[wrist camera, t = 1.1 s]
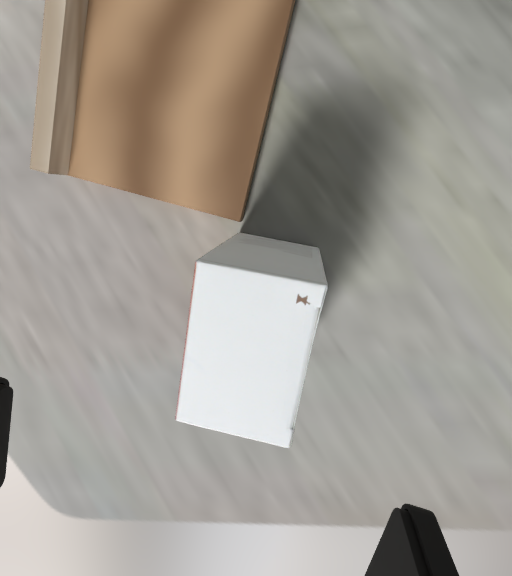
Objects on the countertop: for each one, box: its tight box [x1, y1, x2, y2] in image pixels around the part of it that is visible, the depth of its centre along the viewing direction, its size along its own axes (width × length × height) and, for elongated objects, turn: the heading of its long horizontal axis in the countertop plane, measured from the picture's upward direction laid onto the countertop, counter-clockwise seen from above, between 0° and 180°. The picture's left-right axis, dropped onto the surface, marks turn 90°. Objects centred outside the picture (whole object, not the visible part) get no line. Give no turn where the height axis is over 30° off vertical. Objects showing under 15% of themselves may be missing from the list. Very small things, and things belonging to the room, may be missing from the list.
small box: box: [175, 233, 328, 448], centre depth 21 cm, size 8×6×10 cm
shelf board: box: [30, 0, 295, 222], centre depth 22 cm, size 13×15×3 cm
